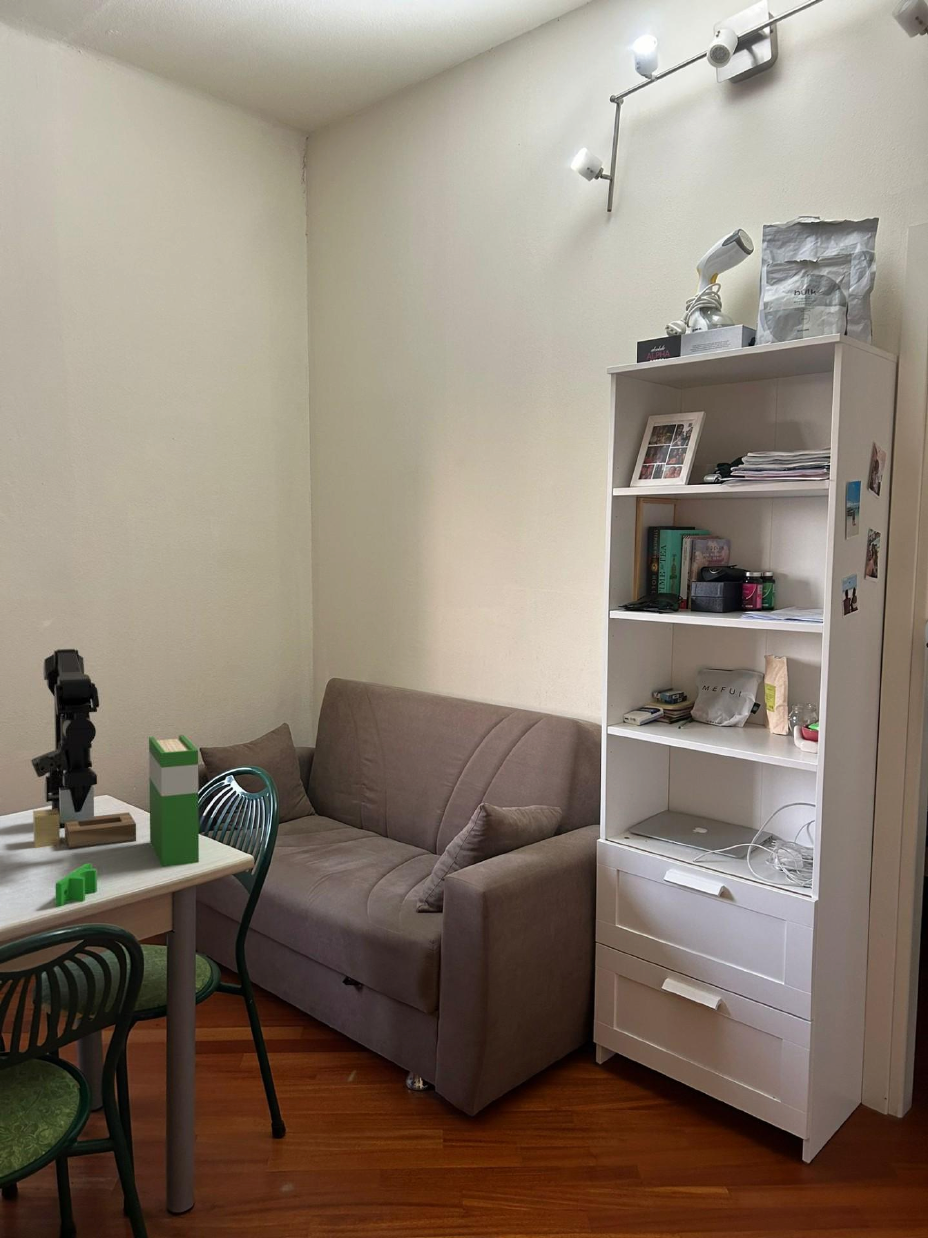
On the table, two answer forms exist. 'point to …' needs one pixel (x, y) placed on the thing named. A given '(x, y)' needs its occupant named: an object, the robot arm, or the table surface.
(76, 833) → the socket block
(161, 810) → the hardback book
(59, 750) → the robot arm
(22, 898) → the table surface
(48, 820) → the square bit
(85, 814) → the block
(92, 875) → the green finned bracket
